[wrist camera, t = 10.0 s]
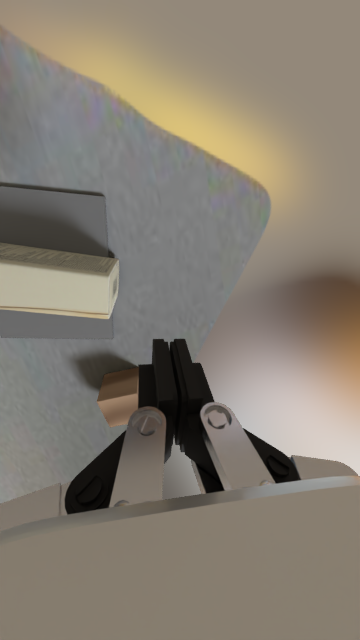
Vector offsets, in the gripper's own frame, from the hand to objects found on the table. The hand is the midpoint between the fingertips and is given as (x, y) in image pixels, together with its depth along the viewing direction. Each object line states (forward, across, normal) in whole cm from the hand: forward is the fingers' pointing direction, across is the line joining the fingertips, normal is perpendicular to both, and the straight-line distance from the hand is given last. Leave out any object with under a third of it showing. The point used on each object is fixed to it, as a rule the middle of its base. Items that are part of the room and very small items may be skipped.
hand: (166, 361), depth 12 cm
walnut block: (+15, +3, +17) cm, 23 cm away
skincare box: (+12, +4, 0) cm, 13 cm away
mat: (+16, +11, +1) cm, 20 cm away
